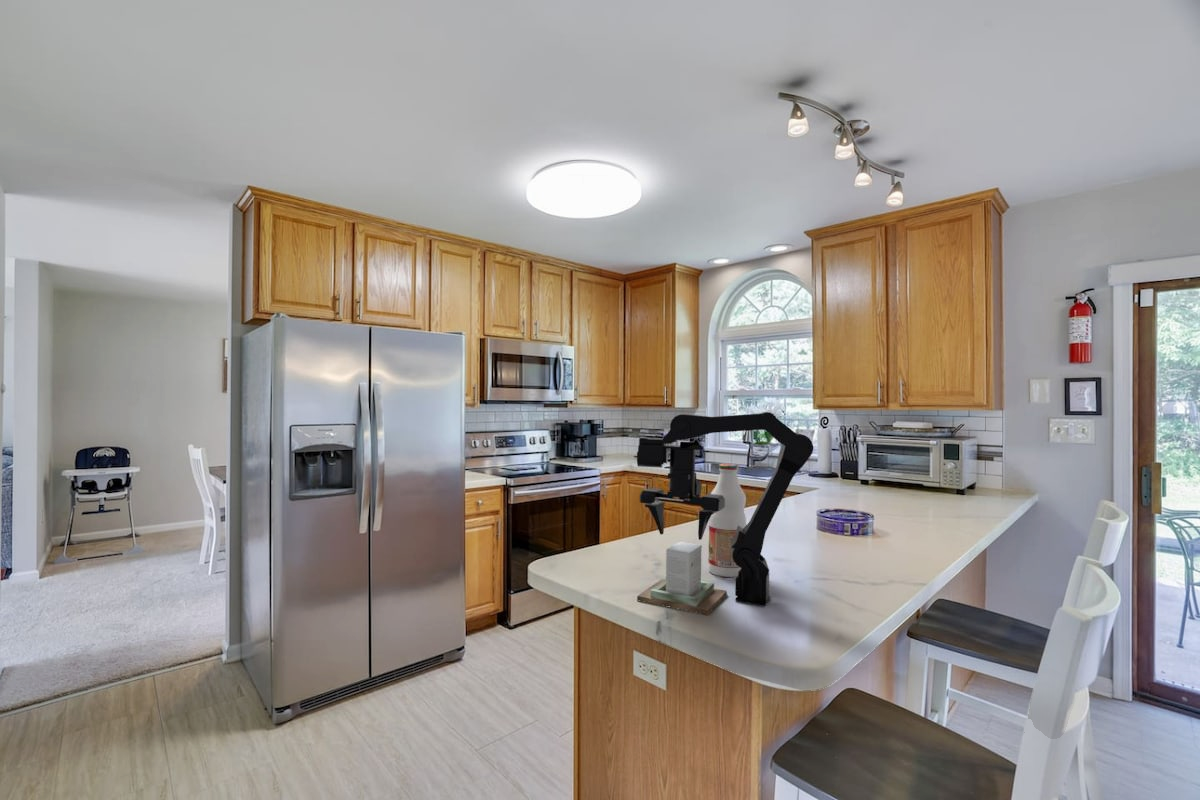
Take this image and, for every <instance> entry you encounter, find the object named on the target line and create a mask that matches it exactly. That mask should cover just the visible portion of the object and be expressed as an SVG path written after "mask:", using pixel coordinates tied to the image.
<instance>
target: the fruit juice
mask: <svg viewBox="0 0 1200 800" xmlns="http://www.w3.org/2000/svg"><path fill="white" fill-rule="evenodd" d="M718 470H719V476H718V479H717V482H716V484H715V487H714V488H713V489H712V491H711V492H710V494H715V495H722V496H723V497H724V499H725V507H724V508H723V509H721V510H720V511H717V512H716V513H714V514H712V515H711V517H710V519H709V521H708V559H707V560H708V563H707V564H708V571H709V572H710V573H711V575H716V576H718V577H723V578H724V577H725V578H736V577H737V576H738V571H739V570H740V569H741V567H739V566H737V565H736V563H735V562H734V560H733V557H732V550H731V539H732V538H733V537H734V535H735V533H736V530H737V527H738V526H740V527H742V528H744V527H745V526H746V525H747V517H746V513H745V507H746V505H747V504H746V503H747V496H746V493H745V491H744V490H743V489H742V487H741V484H740V482H739V478H738V472H739V465H738V464H734V463H720V464H718Z"/></svg>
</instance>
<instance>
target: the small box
mask: <svg viewBox="0 0 1200 800" xmlns="http://www.w3.org/2000/svg"><path fill="white" fill-rule="evenodd" d="M665 551H666V553H665V555H666V560H665V570H666V571H665V579H666V592H671V593H677V594H682V595H687V596H692V597H693V596H694V595H695V594H696V593H697V592H698V591H699V590H701V581H702V544H696V543H690V542H686V541H685V542H684V541H678V542H676V543H675V544H673V545H671V546H670V547H668V548H666V550H665Z"/></svg>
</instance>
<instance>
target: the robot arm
mask: <svg viewBox="0 0 1200 800" xmlns="http://www.w3.org/2000/svg"><path fill="white" fill-rule="evenodd" d="M762 430H763V431H765V432H766V433H768V434H769V435H770V436H771V437H772V438H773V439H775V441H776V442H778V443H780V445H781V446H780V448H779V452H778V457H777V462H776V466H775V469H774V472H773V473H772V475H771V476H770V477H771V478H770V479H769V481H768V483H767V486H765V490H764V491H763V494H762V496H761V498H760V500H759V502H758V503H757V506H756V508H755V510H754V512H753V514H752V516H751V518H750V519H749V522H748V523H746V526H745V527H744V528H742V527H740V526H738V527H737V530H736V533H735V535H734V537H733V538H732V539H731V550H732V557H733V560H734V562H735V563H736V565H737V566H739V567H741V569H740V570H739V571H738V576H737V577H735V596H736V597H735V600H734V601H735V602H738V603H739V602H740V603H745V604H748V605H754V606H759V607H766V605H767V604H768V603H769V602H770V600H771V599H772V595H770V569H769V565H768V563H767V560H766V558H765V557H764V556H763V554H762V552H763V551H762V550H763V547H764V541H765V536H766V532H767V531H768V528H769V527H770V525H771V522H772V520H773V518H774V516H775V514H776V513H777V510H778V509H779V506H780V504H781V502H782V500H783V498H784V496H785V494H786V492H787V490H788V488H789V487H790V484H791V482H792V480H793V478H794V476H795V475H796V474H797V473H798V472H799V471H800V470H801V468H803V467H804V465H805V464H806V463H807V462H808V460H809V459H810V457H811V456H812V455H813V453H814V444H813V441H812V440H811V439H810V437H809V436H806V435H805V434H802V433H799V432H795V431H793V430H792V429H791V428H790V427H789V426H787V425H786V424H784V423H783V422H782V421H781V420H780V419H779V418H777V417H776V415H775V414H774V413H773V412H769V411H768V412H767V411H763V412H760V413H748V414H745V413H744V414H733V415H732V414H731V415H718V416H709V415H701V414H699V415H697V414H690V413H689V414H687V413H680V414H678V415H676V416H674V417H673V418H672V420H671V421H670V424H669V430H668V432H667V433H666V434H664V435H663V438H649V437H644V436H643V437H639V441H638V446H637V447H638V448H637V452H636V465H637V467H638V468H639V467H641V468H661V469H662V468H663V465H664V464H668V455H669V473H667V479H668V480H669V484H668V487H669V488H668V491H667V493H665V492H664V489H663V488H662V489H661V488H652V487H649V488H646V489H643V490H641V492H640V493H639V503H640V504H641V503H642V504H644V507H645V508H647V509H648V510H649V512H650V514H651V515H652V517H653V520H654V521H655V524H656V527H657V530H658V533H659V534H660V535H663V534H665V533H664V529H665V522H664V521H665V520H664V517H665V516H664V510H665V509H664V508H665V504H666V502H669V503H678V504H687V505H695V506H697V505H698V506H700V507H701V508H702V509H701V510H699V512H698V530H697V533H698V534H697V536H698V541H702V540H703V536H704V534H705V531H706V529H707V525H708V524H709V519H710V517H711V515H712V514H714V513H716V512H717V511H720V510H721V509H723V508H724V507H725V499H724V497H723V496H722V495H715V494H711V493H706V494H704V495H702V487H703V486H702V485H703V483H702V482H701V481H700V480H697V479H698V478H697V472H696V451H703V450H704V445H703V444H702V443H700V441H699V440H698V438H697V437H701V436H705V435H710V434H714V433H715V434H717V433H730V432H732V433H733V432H746V431H748V432H749V431H762ZM693 438H695V439H694V441H685V440H690V439H693ZM678 440H682V441H680V442H679V445H671V444H673V443H674V442H675V441H678ZM683 440H684V441H683ZM668 449H669V450H668ZM668 451H669V454H668ZM701 495H702V496H701Z"/></svg>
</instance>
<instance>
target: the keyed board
mask: <svg viewBox="0 0 1200 800" xmlns="http://www.w3.org/2000/svg"><path fill="white" fill-rule="evenodd" d="M727 596H728V590H724V589H718V588H715V582H712V581H711V582H710V581H704V580H701V590H699V591H698V592H697V593H696V594H695V595H694V596H693V597H692V596H687V595H682V594H677V593H671V592H666V578H661V579H659V580H658V581H657V582H654V584H652V585H651V586H649V587H648V588H647V589H645V590H644V591H642V592H641V593H639V594H638V595H637V597H636V599H637V600H640V601H639V602H642V601H645V602H644V603H647V602H649V603H648V604H652V603H654V604H653V605H656V604H659V605H658V606H661V605H664V606H663V607H666V606H670V607H669V608H671V607H674V608H673V609H675V608H679V609H678V610H680V609H683V610H682V611H685V610H687V611H686V612H690V611H692V612H691V613H694V612H697V613H696V614H699V613H701V614H700V615H704V614H706V616H708V615H709V614H710V613H711V612H713V610H714V609H716V607H717V606H718V605H719V604H720V603H721V602H722V601H723V599H725V598H726V597H727Z"/></svg>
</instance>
